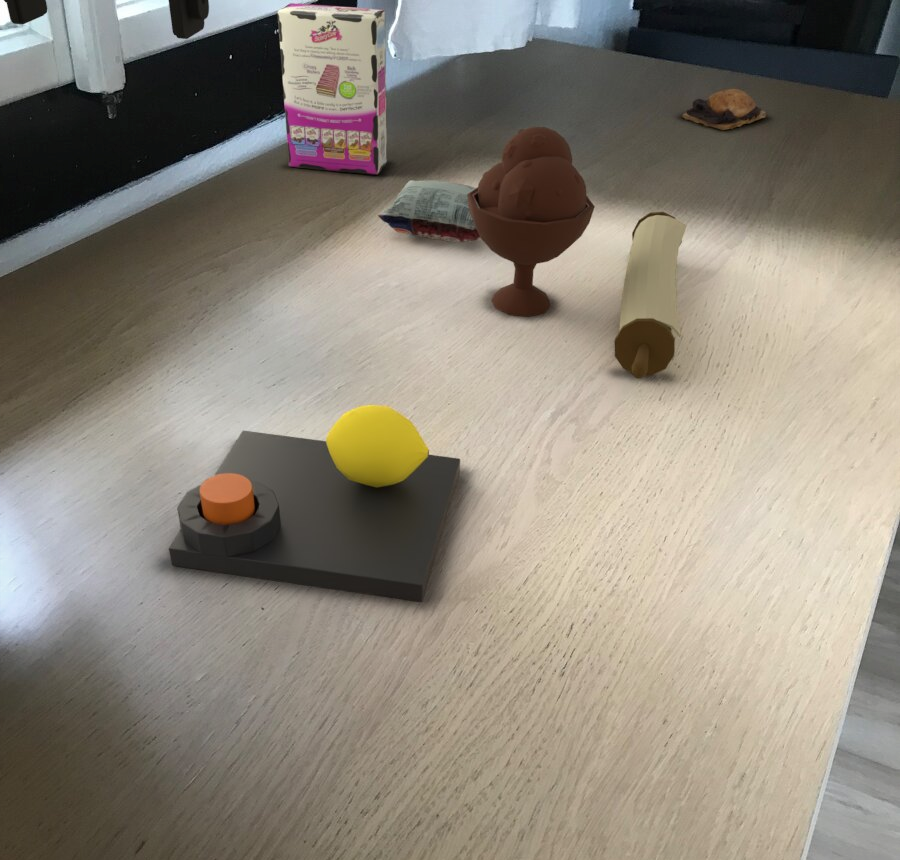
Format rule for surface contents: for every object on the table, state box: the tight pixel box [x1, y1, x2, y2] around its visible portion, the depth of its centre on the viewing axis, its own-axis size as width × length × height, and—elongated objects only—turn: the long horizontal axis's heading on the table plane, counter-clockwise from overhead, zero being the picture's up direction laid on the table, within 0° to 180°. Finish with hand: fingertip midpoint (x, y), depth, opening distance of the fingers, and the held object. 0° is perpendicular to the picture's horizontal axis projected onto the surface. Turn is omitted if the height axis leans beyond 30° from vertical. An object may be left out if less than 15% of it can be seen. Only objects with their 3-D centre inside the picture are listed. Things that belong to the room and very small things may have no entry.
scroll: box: [613, 211, 688, 379], centre depth 89 cm, size 32×6×5 cm, turn 168°
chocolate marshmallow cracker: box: [681, 88, 766, 131], centre depth 138 cm, size 11×8×4 cm
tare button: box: [200, 473, 255, 525], centre depth 61 cm, size 3×3×2 cm
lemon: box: [325, 404, 430, 488], centre depth 65 cm, size 7×5×5 cm
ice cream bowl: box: [467, 126, 596, 317], centre depth 87 cm, size 11×11×15 cm
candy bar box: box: [277, 2, 388, 176], centre depth 112 cm, size 11×5×16 cm, turn 80°
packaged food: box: [377, 179, 481, 243], centre depth 102 cm, size 9×12×5 cm
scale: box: [168, 430, 461, 602], centre depth 65 cm, size 16×14×3 cm
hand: (109, 26), depth 56 cm, fingers open, 9 cm apart
